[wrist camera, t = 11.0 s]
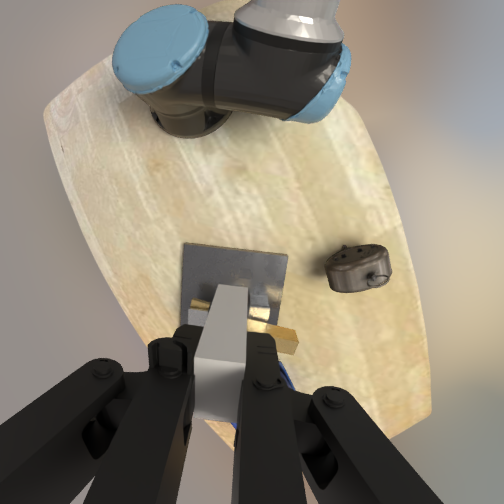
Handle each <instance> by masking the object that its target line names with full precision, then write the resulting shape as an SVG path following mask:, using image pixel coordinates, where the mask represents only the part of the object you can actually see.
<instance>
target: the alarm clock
mask: <svg viewBox="0 0 504 504" xmlns="http://www.w3.org/2000/svg"><path fill="white" fill-rule="evenodd" d="M343 248H344V249H345V250H343V251H341V252H338V253H336V254H335V255H333V256H332V257H330V258H329V259H328V260H327V262H326V264H325V270H326V274H327V278H328V282H329V286H330V288H331V289H332V290H334V291H336V292H340V293H353V292H361V291H365V290H368V289H371V288H378V287H381V286H384V285H386V284H387V283H388V282H389V279H390V278H389V277H390V276H391V274H392V269H391V264H390V259H389V254H388V250H387V249H386V248H385V247H383V246H381V245H377V244H367V245H360V246H356V247H352V248H348V247H347V246H346V245H343ZM386 280H387V281H386ZM385 281H386V282H385ZM382 283H383V284H382ZM380 284H381V285H380Z"/></svg>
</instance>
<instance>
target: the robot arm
mask: <svg viewBox="0 0 504 504" xmlns="http://www.w3.org/2000/svg"><path fill="white" fill-rule="evenodd" d="M339 2H340V0H251V1H250V2H248V3H247V4H245V5H244V6H242V7H241V8H239V9H238V10H236V11H235V13H234V22H222V21H207V19H206V17H205V16H204V15H203V14H202V13H200V12H198V11H197V10H196V9H195V8H193V7H191V6H187V5H182V4H175V5H167V6H162V7H159V8H157V9H154V10H151V11H149V12H147V13H146V14H144V15H142V16H141V17H140V18H139V19H138V20H137V21H135V22H134V23H132V24H131V25H130V26H129V27H128V28H127V29H126V30H125V31H124V32H123V34H122V35H121V37H120V39H119V40H118V42H117V44H116V46H115V49H114V52H113V57H112V66H113V70H114V73H115V75H116V77H117V78H118V79H119V81H120V82H121V83H122V84H123V86H124V87H125V88H126V89H127V90H128V91H130V92H133V93H134V94H135V95H137V96H138V97H139V98H141V99H142V100H143V101H145V102H146V103H147V104H148V105H150V111H151V114H152V116H153V118H154V120H155V122H156V123H157V124H158V125H159V126H160V127H161V128H162V129H163V130H165V131H166V132H168V133H169V134H171V135H173V136H176V137H180V138H197V137H202V136H205V135H207V134H209V133H211V132H213V131H215V130H216V129H218V128H219V127H220V126H221V125H222V124H223V123H224V122H225V121H226V120H227V119H228V117H229V116H230V114H231V112H232V110H233V111H240V112H246V113H252V114H258V115H264V116H269V117H274V118H279V119H280V120H282V121H296V122H301V123H306V124H310V123H316V122H319V121H321V120H322V119H323V118H325V117H326V116H327V115H328V114H329V113H330V111H331V110H332V109H333V107H334V106H335V104H336V103H337V101H338V99H339V97H340V95H341V93H342V91H343V89H344V86H345V84H346V81H345V78H346V77H347V74H348V73H349V70H350V66H351V53H350V50H349V49H348V47H347V46H345V45H344V44H343V43H342V41H343V38H344V32H343V31H342V29H341V28H340V26H339V24H338V23H337V22H336V19H335V14H336V11H337V8H338V5H339ZM247 303H248V288H247V287H239V286H230V285H222V284H218V287H217V290H216V293H215V296H214V299H213V302H212V305H211V308H210V311H209V314H208V317H207V320H206V323H205V326H204V327H203V326H196V325H189V324H183V325H182V326H180V327H179V328H177V329H176V331H175V333H174V335H173V337H172V338H169V337H165V338H158V339H156V340H153V341H151V342H150V343H149V344H148V355H149V356H148V357H149V369H148V371H145V372H123V368H122V366H121V364H119V363H118V362H116V361H115V360H111V359H108V358H98V359H94V360H92V361H89V362H88V363H86V364H84V365H83V366H82V367H80V368H79V369H77V370H76V371H75V372H73V373H72V374H70V375H69V376H68V377H66V378H65V379H64V380H62V381H61V382H60V383H58V384H57V385H55V386H54V387H53V388H51V389H50V390H48V391H47V392H46V393H44V394H43V395H41V396H40V397H39V398H37V399H36V400H34V401H33V402H32V403H30V404H29V405H27V406H26V407H25V408H23V409H22V410H21V411H19V412H18V413H16V414H15V415H14V416H12V417H11V418H10V419H8V420H7V421H5V422H4V423H3V424H1V425H0V504H70V503H71V502H72V500H74V498H75V497H76V496H77V495H78V494H79V493H80V492H81V491H82V490H83V489H84V487H85V486H86V485H87V484H88V483H89V482H90V481H91V480H92V479H93V477H94V476H95V478H94V480H93V482H92V485H91V487H90V489H89V491H88V493H87V496H86V498H85V500H84V502H83V504H176V500H177V496H178V491H179V486H180V481H181V476H182V472H183V467H184V462H185V458H186V453H187V448H188V444H189V439H190V434H191V430H192V421H191V420H192V416H193V412H194V418H200V419H206V420H214V421H222V422H231V423H237V427H236V433H235V440H234V447H235V449H234V465H233V466H234V467H233V482H232V500H231V504H307V501H306V494H305V488H304V481H303V476H302V472H303V474H304V476H305V478H306V480H307V482H308V484H309V486H310V488H311V490H312V492H313V494H314V496H315V497H316V499H317V501H318V503H319V504H444V503H443V502H441V500H440V499H439V498H438V497H437V496H436V494H435V493H434V492H433V491H432V490H431V489H430V487H429V486H428V485H427V484H426V483H425V482H424V481H423V479H422V478H421V477H420V476H419V475H418V473H417V472H416V471H415V470H414V469H413V468H412V466H411V465H410V464H409V463H408V462H407V461H406V459H405V458H404V457H403V456H402V455H401V454H400V452H399V451H398V450H397V449H396V447H395V446H394V445H393V444H392V443H391V442H390V440H389V439H388V438H387V437H386V436H385V434H384V433H383V432H382V431H381V430H380V428H379V427H378V426H377V425H376V424H375V422H374V421H373V420H372V419H371V418H370V416H369V415H368V414H367V413H366V412H365V410H364V409H363V408H362V407H361V406H360V404H359V403H358V402H357V401H356V399H355V398H354V397H353V396H352V395H351V394H350V393H349V392H348V391H346V390H344V389H342V388H339V387H334V386H324V387H321V388H318V389H317V390H316V391H315V392H314V393H313V395H309V394H305V393H301V392H298V391H295V390H293V389H291V388H289V387H288V386H287V383H286V381H285V379H284V378H282V377H281V374H280V367H279V361H278V355H277V349H276V342H275V339H274V338H273V337H272V336H271V335H270V334H269V333H260V332H250V331H247Z"/></svg>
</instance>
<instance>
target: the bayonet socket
mask: <svg viewBox="0 0 504 504" xmlns="http://www.w3.org/2000/svg"><path fill="white" fill-rule="evenodd" d="M287 261H288V255H287V254H278V253H270V252H262V251H253V250H245V249H236V248H228V247H220V246H211V245H203V244H194V243H185V244H184V259H183V276H182V299H181V326H182V325H183V324H189V325H196V326H203V327H204V326H205V323H206V320H207V317H208V314H209V311H210V308H211V305H212V302H213V299H214V296H215V293H216V290H217V287H218V284H222V285H230V286H239V287H247V288H248V303H247V319H251V320H255V321H259V322H263V323H267V324H271V325H275V326H277V321H278V315H279V309H280V304H281V298H282V292H283V286H284V280H285V274H286V267H287ZM193 297H194V298H197V299H200V300H204V301H207V302H210V306H209V310H205V309H197V308H190V306H191V301H192V299H193Z"/></svg>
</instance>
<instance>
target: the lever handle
mask: <svg viewBox="0 0 504 504" xmlns="http://www.w3.org/2000/svg"><path fill="white" fill-rule="evenodd" d="M209 306H210V302H207V301H204V300H200V299H197V298H194V297H193V299H192V301H191V306H190V308H197V309H205V310H209ZM247 331H250V332H260V333H269V334H270V335H271V336H272V337H273V338H274V339H275V342H276V349H277V352H280V353H285V354H290V355H294V353H295V350H296V348H297V346H298V343H299V341H298V338H297V335H296V332H295V330H293V329H288V328H284V327H280V326H275V325H271V324H267V323H263V322H259V321H255V320H251V319H247Z"/></svg>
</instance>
